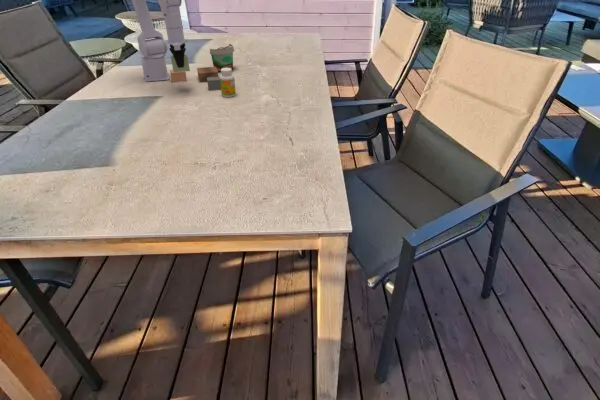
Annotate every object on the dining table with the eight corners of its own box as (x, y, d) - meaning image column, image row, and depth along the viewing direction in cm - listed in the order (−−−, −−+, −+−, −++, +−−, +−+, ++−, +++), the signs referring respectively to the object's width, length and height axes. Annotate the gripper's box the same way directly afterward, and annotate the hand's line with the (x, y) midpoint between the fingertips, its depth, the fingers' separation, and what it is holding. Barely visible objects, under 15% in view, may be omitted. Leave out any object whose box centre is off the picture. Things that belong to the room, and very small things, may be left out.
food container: (221, 75, 165) (218, 51, 159) (212, 72, 168) (209, 48, 162) (241, 68, 173) (239, 45, 167) (232, 66, 176) (229, 43, 170)
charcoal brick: (208, 90, 149) (207, 80, 146) (208, 87, 152) (206, 77, 150) (224, 89, 150) (222, 79, 148) (223, 86, 153) (222, 76, 151)
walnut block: (199, 83, 157) (198, 73, 154) (198, 77, 163) (196, 67, 161) (219, 81, 159) (217, 72, 156) (217, 75, 165) (215, 66, 163)
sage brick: (173, 72, 142) (170, 58, 139) (173, 69, 146) (171, 55, 143) (189, 71, 144) (187, 57, 141) (189, 68, 147) (187, 54, 144)
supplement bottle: (218, 95, 144) (215, 69, 138) (227, 91, 148) (224, 66, 142) (230, 98, 142) (227, 72, 136) (238, 94, 146) (236, 68, 140)
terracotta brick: (172, 82, 157) (170, 73, 154) (171, 79, 160) (169, 70, 157) (187, 81, 158) (185, 71, 156) (186, 78, 161) (184, 69, 159)
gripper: (186, 30, 131) (192, 70, 139) (185, 22, 142) (190, 59, 150) (165, 31, 129) (172, 71, 137) (165, 23, 141) (172, 61, 149)
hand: (180, 65), depth 144 cm, fingers closed on sage brick, 4 cm apart
